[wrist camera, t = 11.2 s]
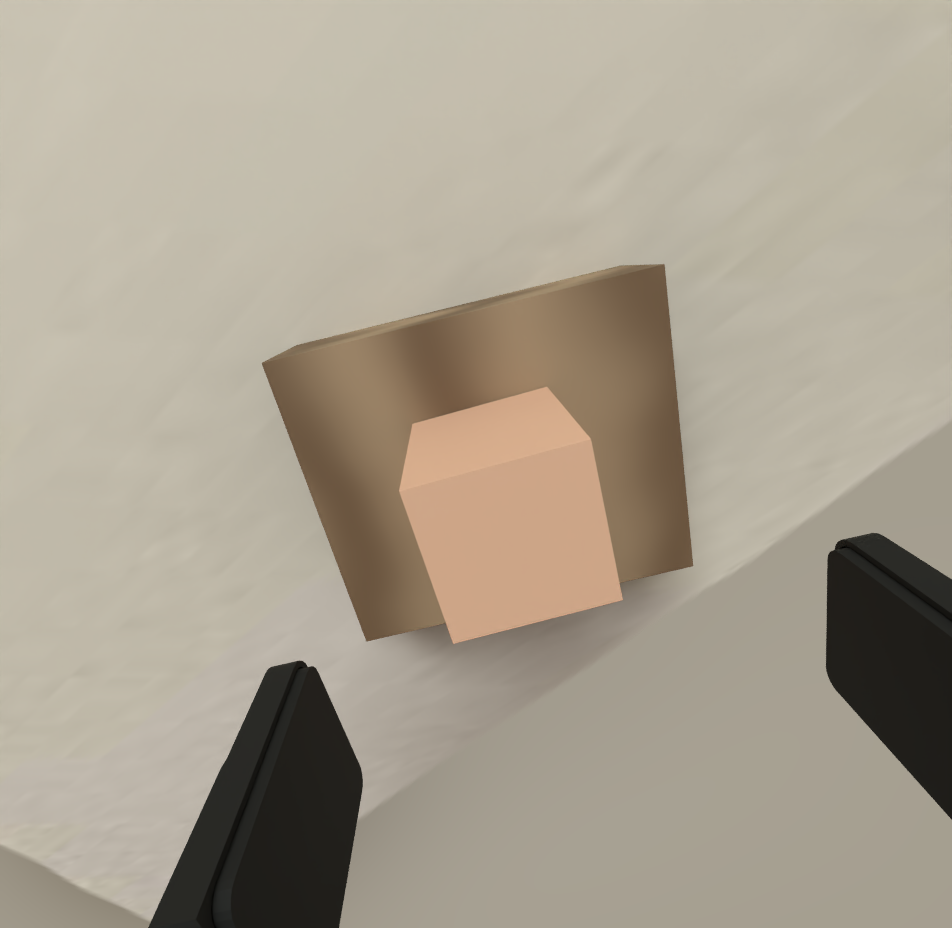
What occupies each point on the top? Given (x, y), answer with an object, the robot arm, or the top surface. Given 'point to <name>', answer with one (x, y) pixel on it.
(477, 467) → the peach block
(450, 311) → the walnut plinth
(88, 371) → the top surface
